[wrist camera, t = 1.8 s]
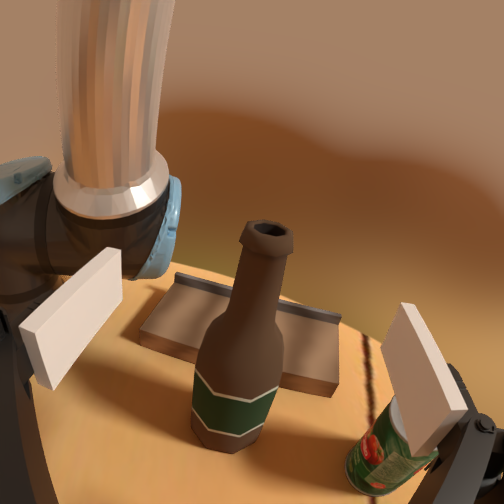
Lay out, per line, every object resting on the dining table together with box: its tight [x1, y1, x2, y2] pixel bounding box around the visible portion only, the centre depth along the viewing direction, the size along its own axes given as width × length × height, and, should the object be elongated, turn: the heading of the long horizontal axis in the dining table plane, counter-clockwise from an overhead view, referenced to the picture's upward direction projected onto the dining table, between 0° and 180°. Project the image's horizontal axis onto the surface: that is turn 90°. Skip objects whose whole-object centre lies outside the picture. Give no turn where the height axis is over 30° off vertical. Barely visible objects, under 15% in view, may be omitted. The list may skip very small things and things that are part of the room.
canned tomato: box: [345, 395, 439, 497], centre depth 26 cm, size 8×8×11 cm
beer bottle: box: [191, 220, 293, 454], centre depth 27 cm, size 8×8×24 cm
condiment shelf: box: [139, 272, 341, 398], centre depth 44 cm, size 26×13×4 cm, turn 78°
